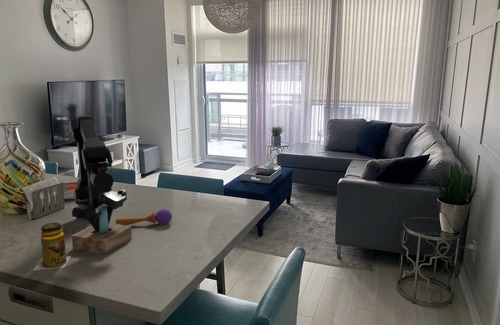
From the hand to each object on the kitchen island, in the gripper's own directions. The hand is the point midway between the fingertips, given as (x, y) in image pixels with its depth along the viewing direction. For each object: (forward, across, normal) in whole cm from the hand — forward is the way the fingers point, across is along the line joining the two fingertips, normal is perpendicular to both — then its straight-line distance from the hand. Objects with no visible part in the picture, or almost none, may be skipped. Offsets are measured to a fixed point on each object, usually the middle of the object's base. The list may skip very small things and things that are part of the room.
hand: (102, 229), depth 124 cm
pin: (+2, 0, 0) cm, 2 cm away
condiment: (+5, -16, +4) cm, 18 cm away
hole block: (+5, 0, 0) cm, 5 cm away
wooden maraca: (+6, +19, -3) cm, 20 cm away
